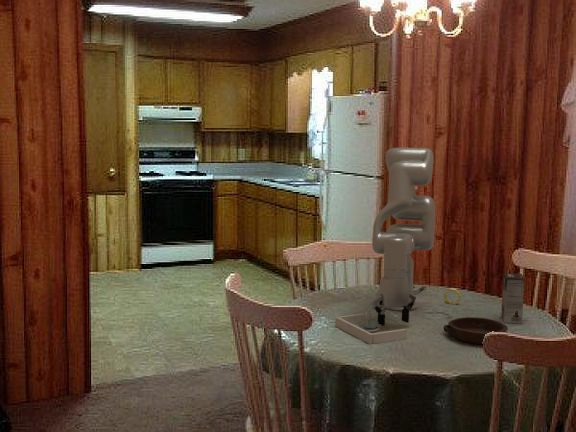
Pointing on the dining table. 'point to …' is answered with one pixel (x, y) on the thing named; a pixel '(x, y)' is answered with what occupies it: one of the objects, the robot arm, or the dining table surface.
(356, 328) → the box
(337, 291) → the dining table surface
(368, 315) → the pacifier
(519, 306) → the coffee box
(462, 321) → the dish
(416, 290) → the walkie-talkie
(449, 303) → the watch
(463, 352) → the dining table surface
